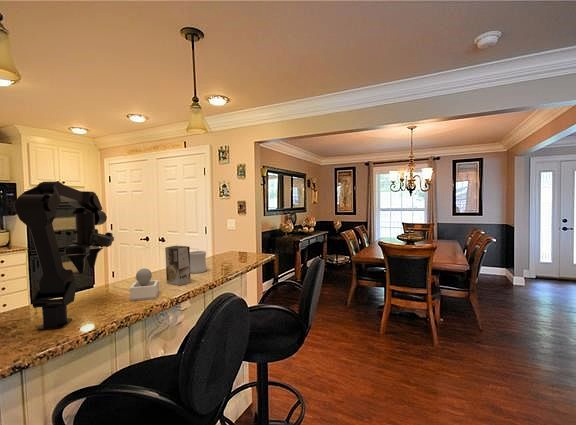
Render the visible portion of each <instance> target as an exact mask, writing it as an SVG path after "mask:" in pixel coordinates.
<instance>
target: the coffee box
mask: <svg viewBox="0 0 576 425" xmlns="http://www.w3.org/2000/svg"><path fill="white" fill-rule="evenodd" d="M164 249H165V254H164V255H165V269H166V270H165V271H166V272H165V273H166V276H165V277H166V284H171V285H175V286H183V285H187V284H190V283H191V279H192V278H191V273H190V252H191V251H190V250H191V249H190V246H187V245H186V246H185V245H171V246H168V247H164Z"/></svg>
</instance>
